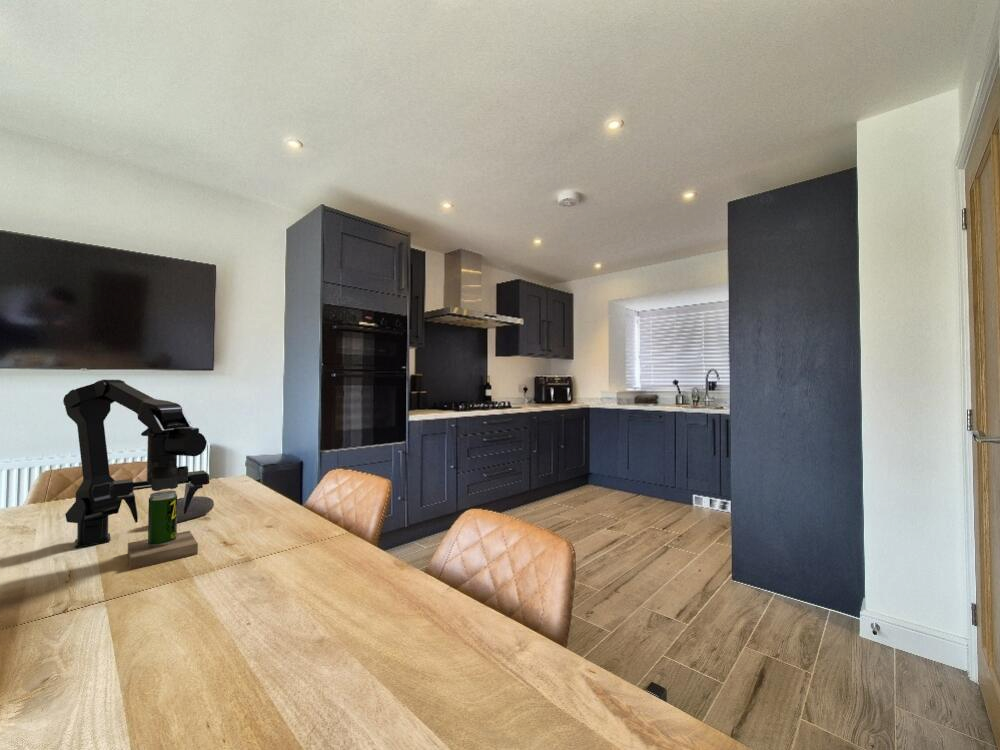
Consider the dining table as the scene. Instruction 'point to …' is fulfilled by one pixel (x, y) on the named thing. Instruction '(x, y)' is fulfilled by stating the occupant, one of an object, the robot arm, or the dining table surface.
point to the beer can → (162, 518)
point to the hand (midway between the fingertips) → (161, 517)
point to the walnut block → (161, 551)
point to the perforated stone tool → (194, 508)
